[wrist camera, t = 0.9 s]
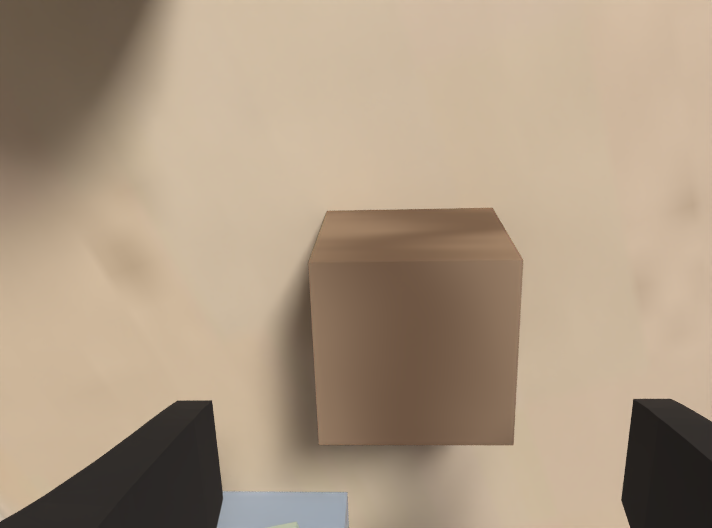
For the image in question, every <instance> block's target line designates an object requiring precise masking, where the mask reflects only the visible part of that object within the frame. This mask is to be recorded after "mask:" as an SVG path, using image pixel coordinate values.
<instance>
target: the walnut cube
mask: <svg viewBox="0 0 712 528" xmlns="http://www.w3.org/2000/svg"><path fill="white" fill-rule="evenodd" d="M308 268H309V285H310V302H311V319H312V337H313V354H314V371H315V388H316V406H317V423H318V440H319V445H513V443H514V424H515V405H516V386H517V367H518V348H519V329H520V310H521V291H522V272H523V259H522V257H521V255H520V254H519V252H518V250H517V249H516V247H515V245H514V244H513V242H512V240H511V238H510V237H509V235H508V233H507V232H506V230H505V228H504V227H503V225H502V223H501V222H500V220H499V218H498V216H497V215H496V213H495V211H494V210H493V208H461V209H407V210H354V211H327V213H326V215H325V218H324V221H323V224H322V226H321V229H320V232H319V235H318V237H317V240H316V243H315V246H314V248H313V251H312V254H311V257H310V259H309V262H308Z"/></svg>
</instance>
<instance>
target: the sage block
mask: <svg viewBox="0 0 712 528" xmlns="http://www.w3.org/2000/svg"><path fill="white" fill-rule="evenodd" d="M267 528H299V526H298V523H297V521H296V522H292V523H287V524H282V525H277V526H272V527H267Z"/></svg>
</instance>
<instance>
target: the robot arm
mask: <svg viewBox="0 0 712 528" xmlns="http://www.w3.org/2000/svg"><path fill="white" fill-rule="evenodd" d="M621 501H622V504H623V507H624V510H625V513H626V516H627V519H628V522H629V525H630V528H712V422H711V421H710V420H708V419H706V418H705V417H703V416H701V415H700V414H698V413H696V412H695V411H693V410H691V409H689V408H687V407H686V406H684V405H682V404H680V403H678V402H676V401H674V400H672V399H633V407H632V416H631V424H630V432H629V441H628V449H627V457H626V466H625V474H624V482H623V491H622V499H621ZM222 502H223V492H222V483H221V475H220V466H219V457H218V449H217V440H216V431H215V423H214V414H213V405H212V401H176V402H175V403H173V404H172V405H170V406H169V407H167V408H166V409H165V410H163V411H162V412H160V413H159V414H158V415H156V416H155V417H154V418H152V419H151V420H150V421H148V422H147V423H146V424H144V425H143V426H142V427H140V428H139V429H138V430H137V431H135V432H134V433H133V434H131V435H130V436H129V437H127V438H126V439H125V440H123V441H122V442H120V443H119V444H118V445H116V446H115V447H114V448H112V449H111V450H110V451H108V452H107V453H106V454H104V455H103V456H102V457H100V458H99V459H98V460H96V461H95V462H93V463H92V464H90V465H89V466H87V467H86V468H84V469H83V470H82V471H80V472H79V473H77V474H76V475H74V476H73V477H71V478H70V479H68V480H67V481H65V482H64V483H62V484H61V485H59V486H58V487H56V488H55V489H54V490H52V491H51V492H49V493H48V494H46V495H44V496H43V497H41V498H40V499H38V500H37V501H35V502H33V503H32V504H30V505H28V506H27V507H25V508H23V509H22V510H20V511H18V512H17V513H15V514H13V515H11V516H10V517H8V518H6V519H4V520H2V521H1V522H0V528H217V524H218V520H219V515H220V511H221V506H222Z"/></svg>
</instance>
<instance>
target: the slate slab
mask: <svg viewBox="0 0 712 528" xmlns="http://www.w3.org/2000/svg"><path fill="white" fill-rule="evenodd" d="M296 521H297V523H298V526H299V528H349V519H348V496H347V492H223V502H222V506H221V511H220V515H219V520H218V524H217V528H267V527H272V526H277V525H282V524H287V523H292V522H296Z"/></svg>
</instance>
